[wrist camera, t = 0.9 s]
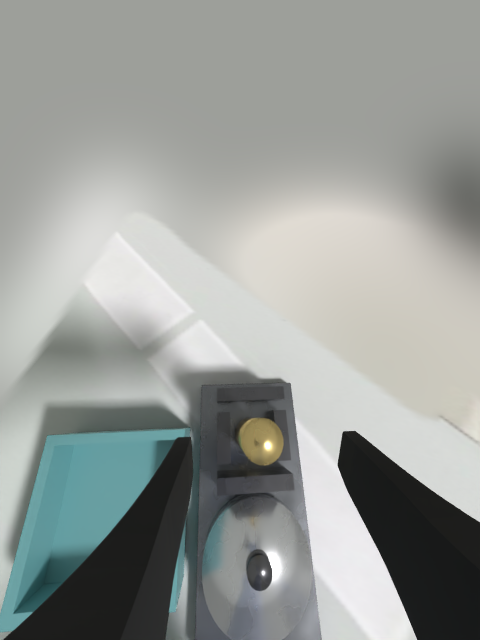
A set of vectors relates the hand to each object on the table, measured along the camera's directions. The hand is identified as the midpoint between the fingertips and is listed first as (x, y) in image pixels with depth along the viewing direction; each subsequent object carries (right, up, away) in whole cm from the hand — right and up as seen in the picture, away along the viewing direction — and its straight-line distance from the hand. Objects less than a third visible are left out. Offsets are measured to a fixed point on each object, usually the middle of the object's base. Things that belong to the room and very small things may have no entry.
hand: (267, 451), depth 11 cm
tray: (-12, -11, +11) cm, 19 cm away
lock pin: (0, -6, +13) cm, 14 cm away
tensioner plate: (0, -11, +12) cm, 16 cm away
